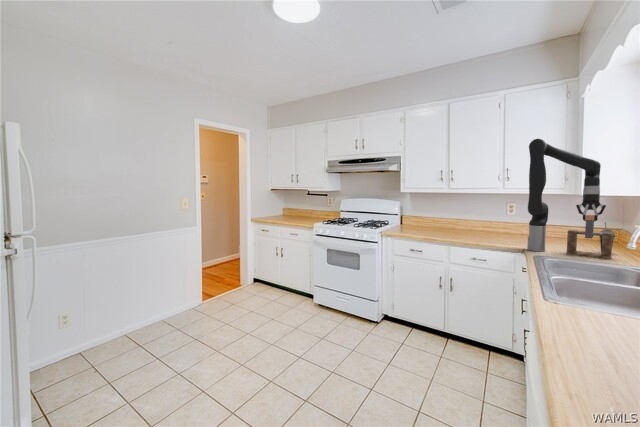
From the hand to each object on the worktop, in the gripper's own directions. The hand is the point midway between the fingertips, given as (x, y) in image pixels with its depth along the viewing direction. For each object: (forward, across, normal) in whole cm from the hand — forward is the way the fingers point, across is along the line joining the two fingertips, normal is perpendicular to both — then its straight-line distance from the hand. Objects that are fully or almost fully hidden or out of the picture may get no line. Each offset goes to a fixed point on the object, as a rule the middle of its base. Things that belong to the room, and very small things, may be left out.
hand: (590, 221), depth 179 cm
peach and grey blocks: (+10, 0, 0) cm, 10 cm away
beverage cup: (+22, +7, +17) cm, 29 cm away
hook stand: (+22, 0, 0) cm, 22 cm away
